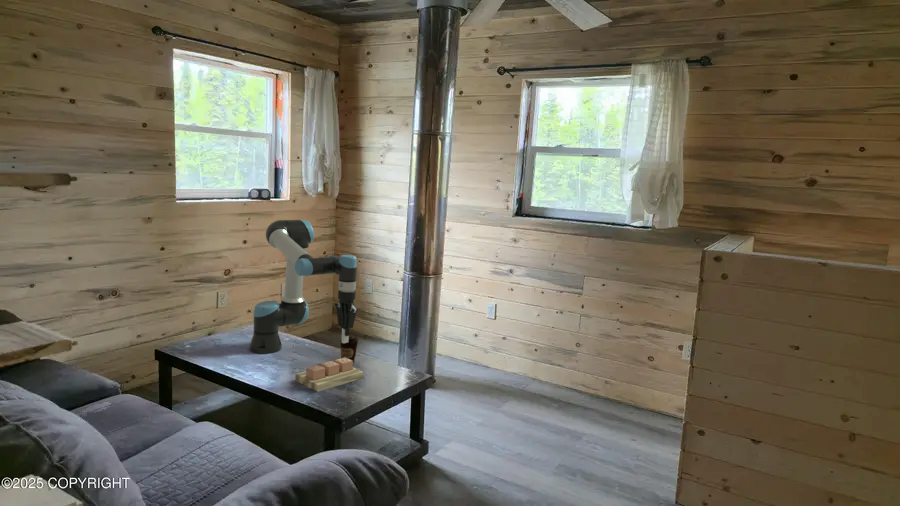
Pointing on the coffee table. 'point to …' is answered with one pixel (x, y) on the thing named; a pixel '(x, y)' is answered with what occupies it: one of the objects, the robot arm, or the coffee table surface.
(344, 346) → the coffee cup
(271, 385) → the coffee table surface
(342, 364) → the tile three pips
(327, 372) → the tile two pips
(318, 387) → the board
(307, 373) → the tile one pip
